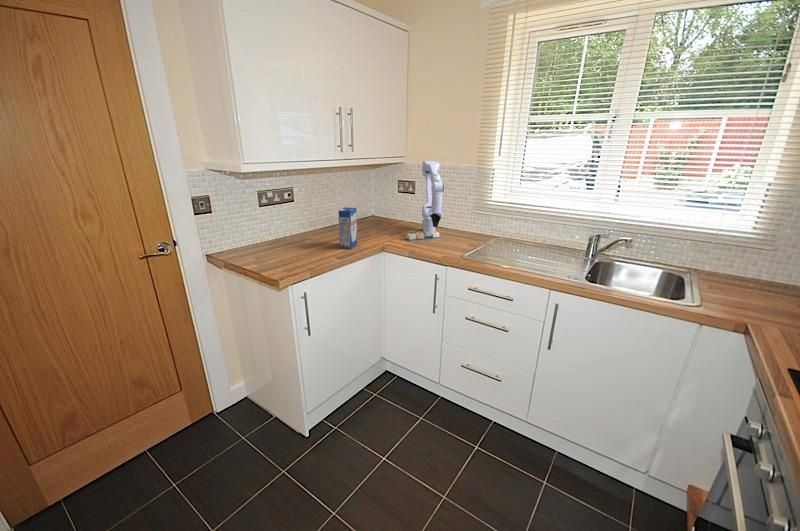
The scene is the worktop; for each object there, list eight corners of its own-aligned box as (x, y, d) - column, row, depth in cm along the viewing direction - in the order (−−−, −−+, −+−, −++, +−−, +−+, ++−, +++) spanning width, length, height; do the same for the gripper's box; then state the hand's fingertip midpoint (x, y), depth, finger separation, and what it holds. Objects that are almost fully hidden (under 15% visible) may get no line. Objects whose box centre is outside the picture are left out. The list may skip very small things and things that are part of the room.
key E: (406, 237, 196) (407, 233, 195) (413, 237, 198) (413, 233, 197) (409, 239, 193) (409, 235, 192) (416, 239, 194) (416, 234, 193)
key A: (430, 235, 202) (430, 231, 201) (436, 235, 203) (436, 231, 202) (433, 237, 198) (433, 233, 197) (439, 237, 200) (439, 232, 199)
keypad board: (403, 238, 200) (403, 236, 199) (433, 236, 207) (433, 234, 207) (411, 244, 190) (411, 242, 189) (443, 241, 197) (443, 239, 197)
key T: (414, 237, 198) (414, 233, 197) (420, 236, 199) (421, 232, 199) (417, 239, 195) (417, 234, 194) (424, 238, 196) (424, 234, 195)
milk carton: (351, 249, 178) (350, 211, 171) (339, 248, 179) (338, 210, 172) (357, 244, 187) (356, 207, 180) (346, 243, 188) (345, 207, 181)
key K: (422, 234, 199) (422, 230, 199) (428, 233, 201) (428, 229, 200) (425, 236, 196) (425, 231, 195) (431, 235, 197) (432, 231, 197)
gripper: (424, 201, 199) (423, 224, 204) (436, 205, 186) (435, 230, 191) (435, 201, 202) (433, 223, 206) (447, 205, 189) (446, 229, 194)
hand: (435, 226), depth 199 cm, fingers closed
